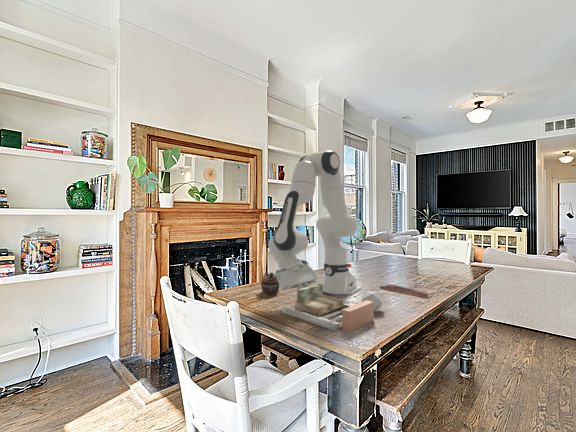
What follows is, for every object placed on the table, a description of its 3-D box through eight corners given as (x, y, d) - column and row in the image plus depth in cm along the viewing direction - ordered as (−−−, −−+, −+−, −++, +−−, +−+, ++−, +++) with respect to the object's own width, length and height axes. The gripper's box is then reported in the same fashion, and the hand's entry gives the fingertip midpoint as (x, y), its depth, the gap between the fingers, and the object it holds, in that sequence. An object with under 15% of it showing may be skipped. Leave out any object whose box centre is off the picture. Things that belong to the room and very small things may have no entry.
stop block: (366, 318, 122) (366, 300, 122) (373, 320, 120) (373, 301, 119) (342, 329, 110) (342, 309, 110) (349, 331, 108) (349, 311, 108)
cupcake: (283, 293, 156) (283, 273, 156) (264, 296, 152) (264, 275, 151) (275, 289, 164) (275, 270, 164) (257, 291, 160) (257, 271, 160)
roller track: (316, 301, 143) (316, 296, 143) (369, 316, 124) (369, 310, 124) (282, 312, 128) (282, 306, 128) (336, 331, 109) (336, 324, 109)
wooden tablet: (436, 293, 154) (426, 294, 148) (436, 298, 154) (426, 299, 148) (388, 283, 175) (378, 284, 168) (388, 287, 175) (377, 288, 168)
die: (373, 317, 125) (387, 297, 126) (355, 303, 129) (369, 284, 130) (375, 318, 132) (388, 299, 133) (357, 305, 136) (370, 286, 137)
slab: (320, 300, 138) (320, 283, 138) (343, 306, 129) (343, 288, 129) (295, 308, 126) (295, 290, 126) (318, 315, 118) (318, 296, 118)
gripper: (277, 266, 130) (294, 294, 123) (309, 260, 145) (326, 285, 138) (269, 275, 133) (285, 303, 127) (302, 268, 148) (318, 293, 141)
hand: (307, 294), depth 132 cm, fingers closed, pressing on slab
